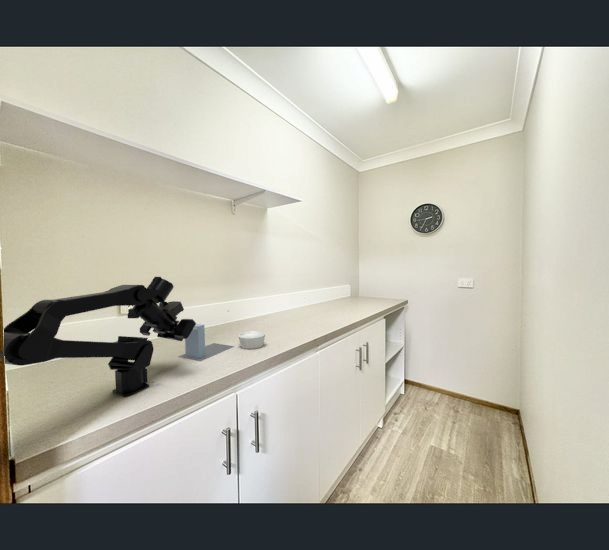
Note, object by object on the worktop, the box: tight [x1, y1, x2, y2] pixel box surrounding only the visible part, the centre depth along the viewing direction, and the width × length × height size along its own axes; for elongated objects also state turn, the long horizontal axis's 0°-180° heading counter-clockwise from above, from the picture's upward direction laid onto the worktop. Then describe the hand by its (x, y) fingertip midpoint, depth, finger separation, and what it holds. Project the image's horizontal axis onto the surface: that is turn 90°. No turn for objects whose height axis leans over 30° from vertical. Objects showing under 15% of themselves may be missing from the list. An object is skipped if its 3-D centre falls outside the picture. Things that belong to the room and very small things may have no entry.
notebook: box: [184, 323, 206, 359], centre depth 92 cm, size 3×7×12 cm, turn 65°
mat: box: [177, 342, 235, 362], centre depth 98 cm, size 18×12×1 cm, turn 155°
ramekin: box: [238, 330, 266, 350], centre depth 105 cm, size 11×11×5 cm
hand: (181, 339), depth 86 cm, fingers closed
